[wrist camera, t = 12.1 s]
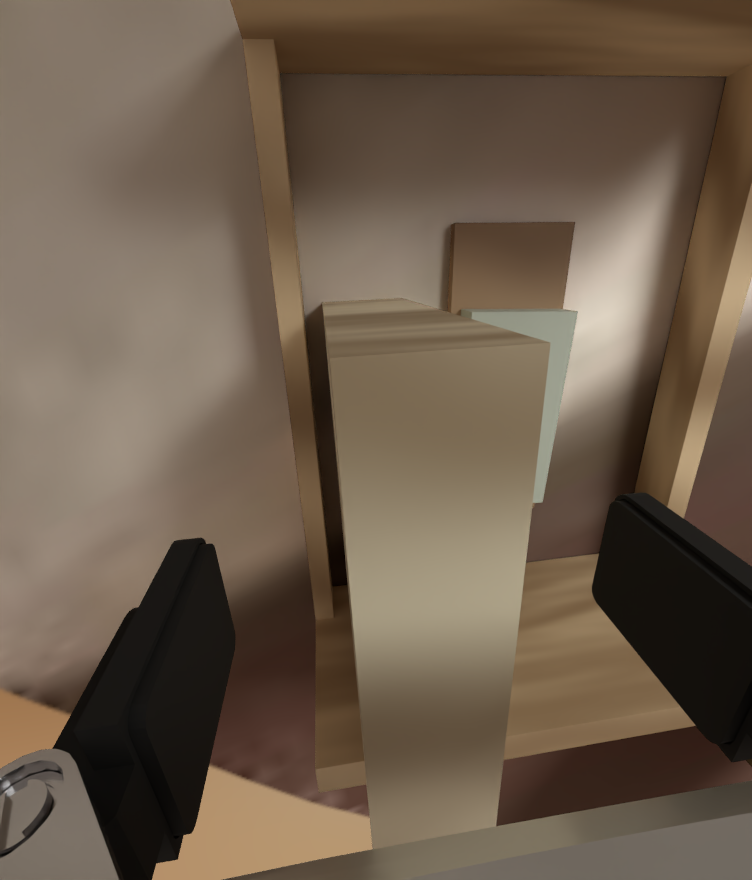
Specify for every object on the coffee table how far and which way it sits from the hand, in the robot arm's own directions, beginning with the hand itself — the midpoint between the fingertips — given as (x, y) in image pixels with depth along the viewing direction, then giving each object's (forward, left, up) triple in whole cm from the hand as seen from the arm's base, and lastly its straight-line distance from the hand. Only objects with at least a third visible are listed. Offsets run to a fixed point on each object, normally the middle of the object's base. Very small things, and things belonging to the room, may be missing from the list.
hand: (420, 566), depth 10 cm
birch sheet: (+1, 0, -9) cm, 9 cm away
